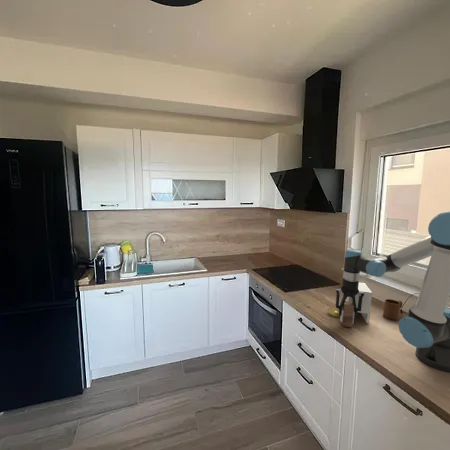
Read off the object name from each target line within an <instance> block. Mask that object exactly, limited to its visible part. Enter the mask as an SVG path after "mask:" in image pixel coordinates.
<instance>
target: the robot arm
mask: <svg viewBox="0 0 450 450" xmlns="http://www.w3.org/2000/svg"><path fill="white" fill-rule="evenodd" d="M427 229H428V230H427V232H428V234H429V236H426V237H425V238H423V239H420V240H419V241H416V242H414V243H412V244H410V245H407V246H406V247H403V248H401V249H399V250H396V251H395V252H393V253H390V254H387V255H386V256H384V257H383V256H381V257H380V256H379V257H372V258H369V257H366V256H363V254H362V251H361V250H358V249H346V250H345V254H344V263H343V272H342V273H343V274H342V284H341V287H340V288H335V293H336V294H335V295H336V296H335V308H337V309H339V315H341V317H339V319H340V320H339V321H340V323H341V322H343V312H344V310H343V306H344V303H345V300H346V298H347V297H352V302H353V305H354V311H353V321H352V325H354V322H355V318H357V315H358V312H357V311H361V306H362V298H363V296H364V293H363V292H360V291H359V290H358V285H359V282H360V281H359V280H360V273H364V274H366V275H369V276H372V277H376V278H381V277H382V276H384V275H385V273H394V272H397V271H400V270H401V269H402V268H404V267H406V266H409V265H411V264H414V263H417V262H420V261H422V260H425V259H427V258H430V259H429V262H428V266H427V268H426V271H425V275H424V278H423V281H422V284H421V287H420V290H419V293H418V296H417V299H416V304H412V305H410V307H409V308H408V312H407V315H406V316H404V317H402V318H401V319H400V320H399V321H398V331H399V333H400V334H401V335H402V338H403V339H404V340H405V341H406V342H407V343H408V344H409V345H411V346H413V347H415V348H416V349H415V356H416V357H417V359H419V360H420V361H421V362H423V363H424V364H425V365H428V366H430V367H431V368H434V369H436V370H439V371H443V372H447V373H450V308H448V307H447V304H448V301H449V299H450V210H448V211H443V212H440V213H438V214H436V216H434V217H433V218H432V219H431V220H430V221H429V224H428V227H427ZM341 292H342V298H341V300H340V294H341ZM358 293H359V294H358ZM357 294H358V295H359V299H358V308H357V307H356V301H355V296H356V295H357Z"/></svg>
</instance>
